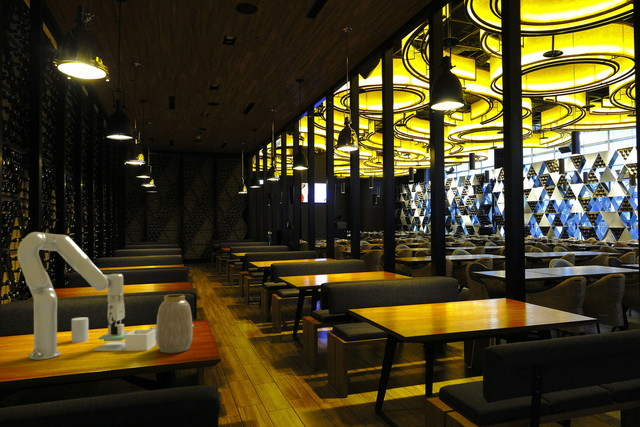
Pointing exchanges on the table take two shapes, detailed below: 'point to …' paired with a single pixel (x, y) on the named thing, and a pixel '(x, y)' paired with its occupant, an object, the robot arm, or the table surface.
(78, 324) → the cup
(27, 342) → the table surface
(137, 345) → the box
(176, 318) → the vase
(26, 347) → the table surface
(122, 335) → the lid
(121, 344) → the mat
